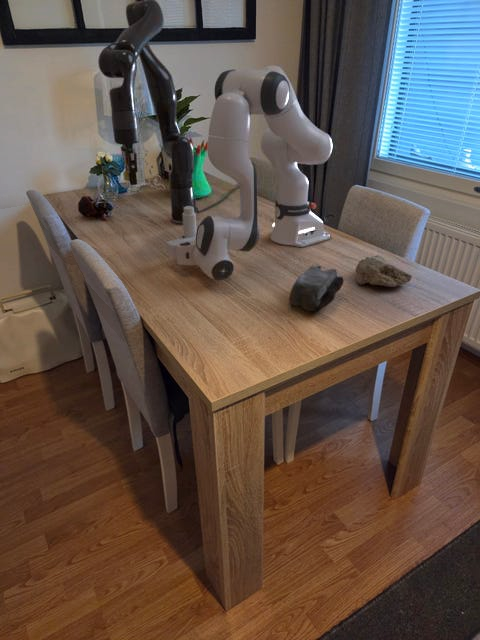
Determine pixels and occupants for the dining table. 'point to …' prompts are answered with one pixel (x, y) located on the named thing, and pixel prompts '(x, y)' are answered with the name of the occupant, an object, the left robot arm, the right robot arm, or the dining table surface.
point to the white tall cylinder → (189, 222)
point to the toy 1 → (95, 207)
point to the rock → (315, 288)
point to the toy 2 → (199, 172)
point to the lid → (126, 175)
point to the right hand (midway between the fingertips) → (189, 236)
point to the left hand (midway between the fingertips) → (132, 182)
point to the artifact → (380, 273)
